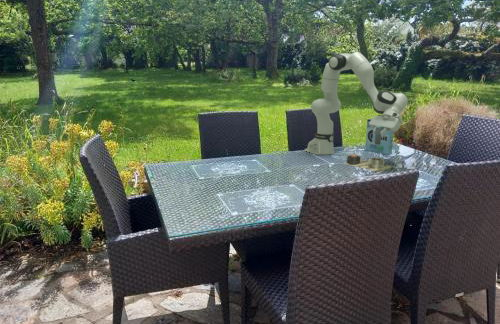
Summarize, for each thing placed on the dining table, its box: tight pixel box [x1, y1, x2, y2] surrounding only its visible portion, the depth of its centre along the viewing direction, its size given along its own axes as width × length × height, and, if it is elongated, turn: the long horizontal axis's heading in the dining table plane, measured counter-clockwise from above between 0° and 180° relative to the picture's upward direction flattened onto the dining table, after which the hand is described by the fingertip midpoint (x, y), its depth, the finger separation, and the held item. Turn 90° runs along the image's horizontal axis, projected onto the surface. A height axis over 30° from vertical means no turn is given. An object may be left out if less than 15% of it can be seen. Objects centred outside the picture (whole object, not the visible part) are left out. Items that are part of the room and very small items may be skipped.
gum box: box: [364, 118, 395, 156], centre depth 299 cm, size 20×5×23 cm, turn 39°
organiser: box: [343, 155, 392, 173], centre depth 262 cm, size 24×17×6 cm
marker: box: [375, 126, 382, 145], centre depth 252 cm, size 4×4×11 cm
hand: (377, 134), depth 251 cm, fingers closed on marker, 3 cm apart
